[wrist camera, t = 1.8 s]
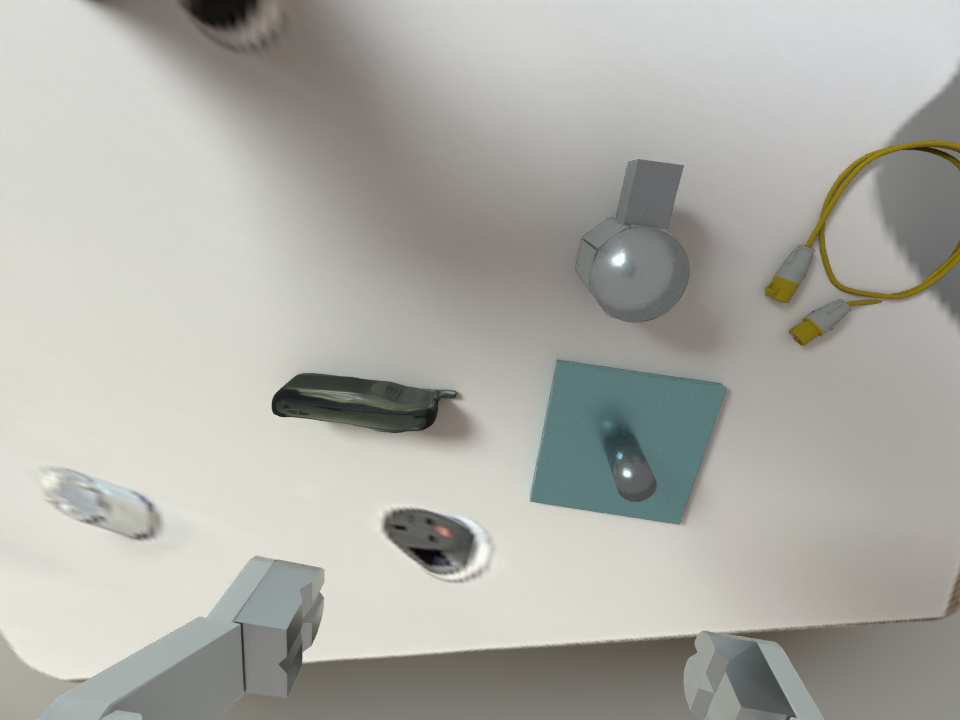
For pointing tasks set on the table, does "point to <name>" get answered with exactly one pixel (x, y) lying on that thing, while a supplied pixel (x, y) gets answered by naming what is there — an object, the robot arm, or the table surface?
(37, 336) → the table surface
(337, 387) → the mobile phone
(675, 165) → the tabbed metal cylinder
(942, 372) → the table surface
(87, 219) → the table surface
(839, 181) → the yellow thin looped cord
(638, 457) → the flat teal square plate
